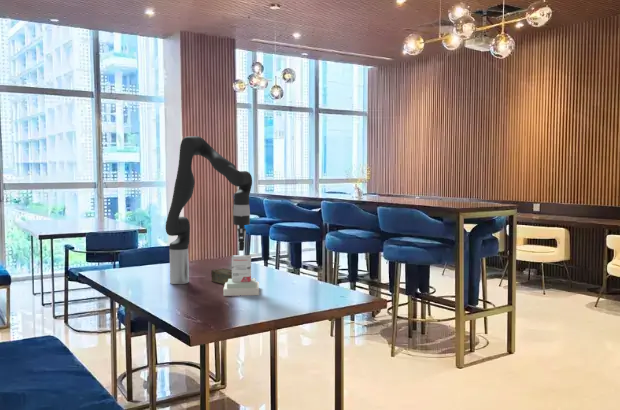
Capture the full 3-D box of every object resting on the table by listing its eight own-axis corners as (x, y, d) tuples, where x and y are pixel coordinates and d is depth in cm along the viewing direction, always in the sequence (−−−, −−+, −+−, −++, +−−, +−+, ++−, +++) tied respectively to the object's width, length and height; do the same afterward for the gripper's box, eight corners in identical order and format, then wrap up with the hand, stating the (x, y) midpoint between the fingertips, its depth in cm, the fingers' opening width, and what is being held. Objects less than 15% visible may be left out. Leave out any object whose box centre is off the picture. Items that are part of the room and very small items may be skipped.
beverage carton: (232, 287, 272) (232, 273, 272) (210, 281, 286) (210, 269, 286) (245, 285, 277) (245, 271, 277) (223, 279, 291) (223, 267, 291)
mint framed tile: (225, 288, 268) (225, 278, 267) (259, 287, 269) (259, 277, 269) (223, 295, 252) (223, 284, 252) (259, 295, 253) (259, 284, 253)
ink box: (251, 279, 263) (251, 254, 262) (250, 282, 258) (249, 256, 257) (233, 279, 263) (233, 254, 263) (231, 281, 258) (231, 256, 258)
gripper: (234, 213, 265) (234, 247, 266) (232, 215, 251) (232, 251, 252) (249, 213, 266) (250, 247, 267) (249, 215, 252) (249, 251, 253)
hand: (241, 249), depth 259 cm, fingers open, 8 cm apart
